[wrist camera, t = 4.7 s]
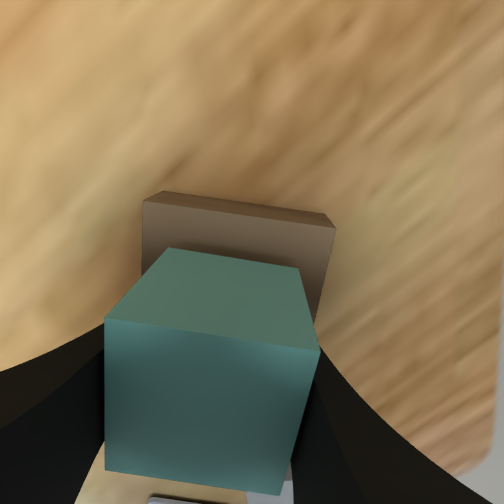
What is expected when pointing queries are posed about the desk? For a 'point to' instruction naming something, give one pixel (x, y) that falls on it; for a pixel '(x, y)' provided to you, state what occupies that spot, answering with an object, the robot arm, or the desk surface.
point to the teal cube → (208, 372)
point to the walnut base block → (240, 235)
